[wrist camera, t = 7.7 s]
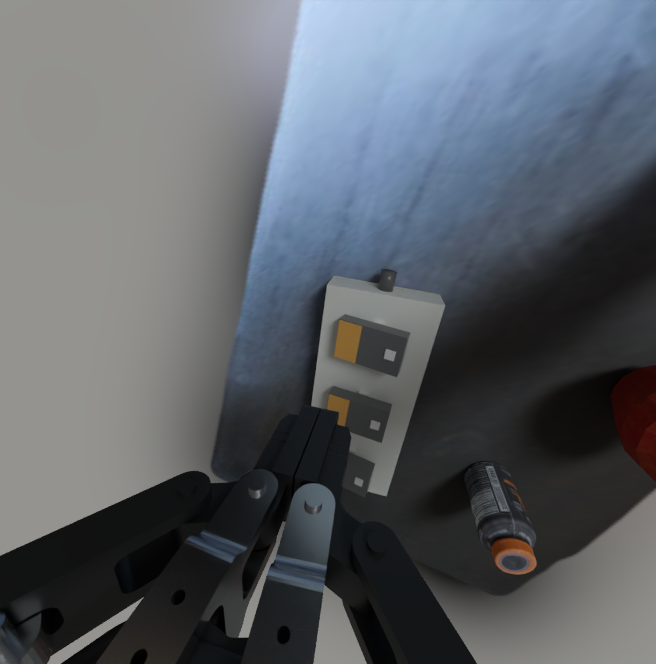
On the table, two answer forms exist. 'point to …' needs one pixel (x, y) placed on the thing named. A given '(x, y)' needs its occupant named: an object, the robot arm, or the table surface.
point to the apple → (637, 416)
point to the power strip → (390, 310)
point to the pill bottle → (501, 517)
